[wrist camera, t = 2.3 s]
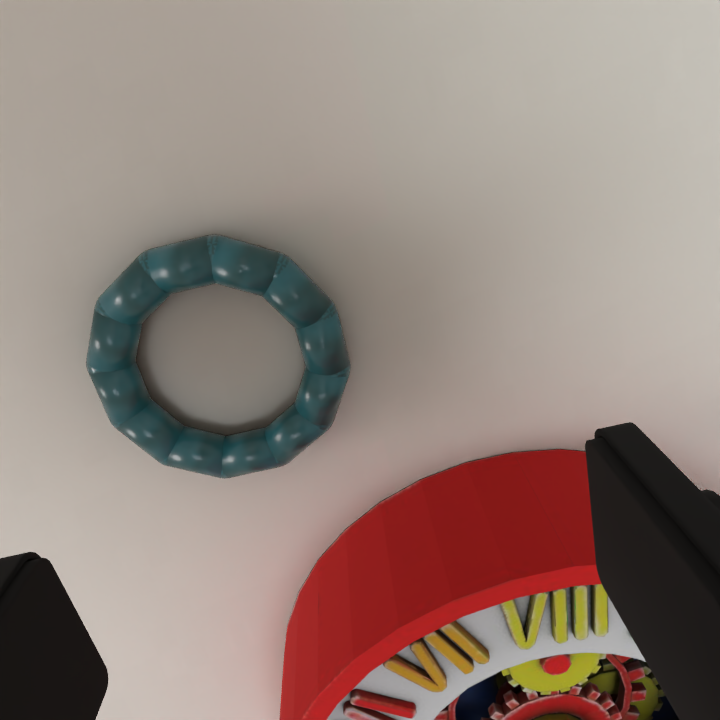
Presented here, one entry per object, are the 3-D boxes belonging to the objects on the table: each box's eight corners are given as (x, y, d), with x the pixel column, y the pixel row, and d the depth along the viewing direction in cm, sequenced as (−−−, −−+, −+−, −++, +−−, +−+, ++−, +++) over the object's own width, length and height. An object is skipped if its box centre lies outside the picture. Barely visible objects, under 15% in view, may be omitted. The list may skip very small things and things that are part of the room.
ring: (150, 482, 22) (138, 506, 20) (57, 267, 18) (37, 279, 17) (369, 433, 21) (371, 454, 20) (312, 207, 18) (311, 215, 17)
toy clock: (429, 472, 15) (1005, 662, 19) (401, 375, 20) (855, 538, 24) (196, 913, 22) (655, 987, 26) (221, 753, 27) (598, 834, 31)
